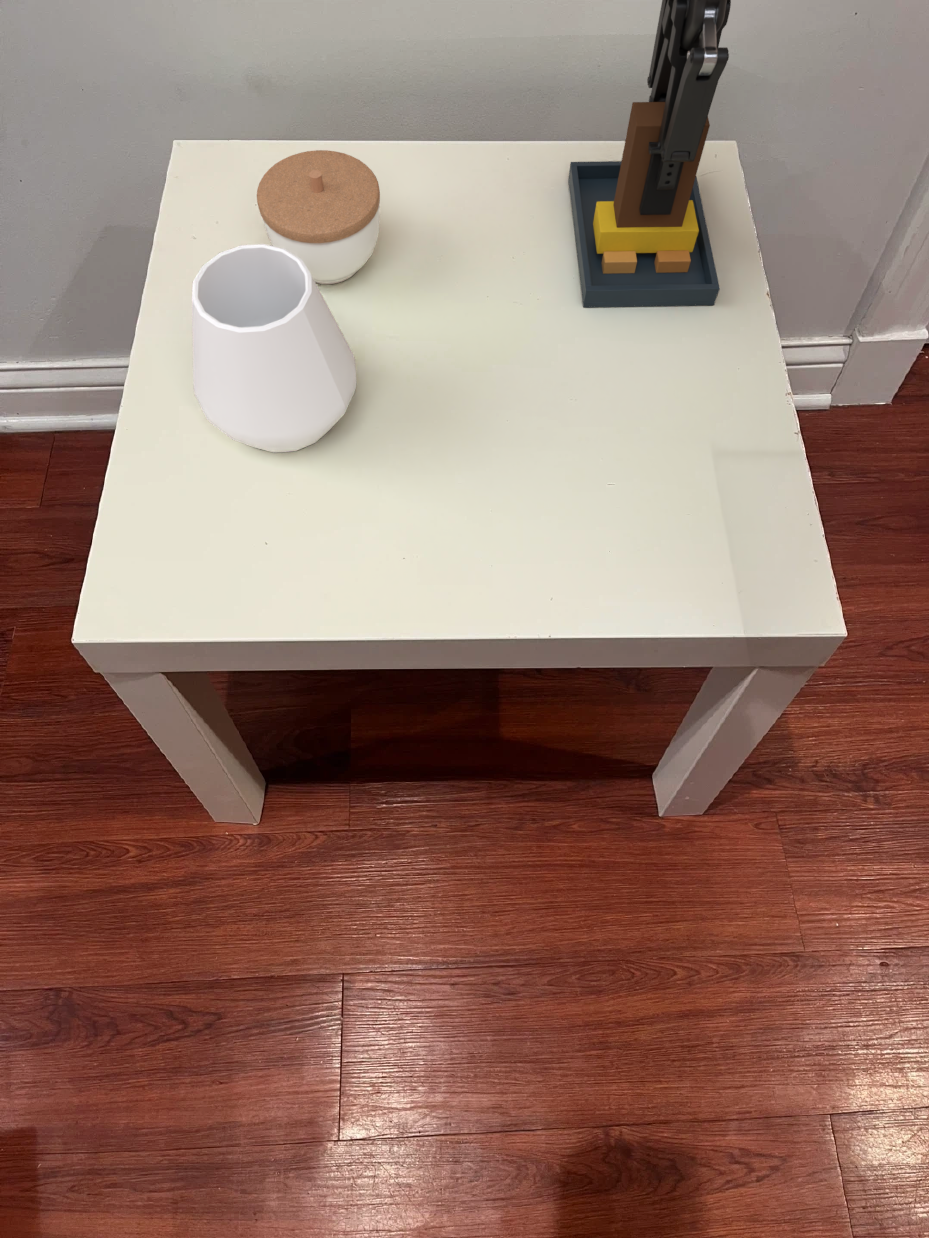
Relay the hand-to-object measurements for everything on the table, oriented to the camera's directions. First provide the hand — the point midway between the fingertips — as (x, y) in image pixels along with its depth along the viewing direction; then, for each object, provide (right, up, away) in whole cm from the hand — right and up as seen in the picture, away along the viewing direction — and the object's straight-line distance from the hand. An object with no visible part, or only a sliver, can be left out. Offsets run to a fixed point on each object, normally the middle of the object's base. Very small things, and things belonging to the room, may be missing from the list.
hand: (652, 196), depth 81 cm
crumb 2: (+3, -5, +4) cm, 7 cm away
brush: (0, -2, +4) cm, 5 cm away
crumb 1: (-2, -5, +4) cm, 7 cm away
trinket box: (-30, -4, +5) cm, 30 cm away
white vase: (-32, -20, -3) cm, 38 cm away
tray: (0, -1, +6) cm, 6 cm away
